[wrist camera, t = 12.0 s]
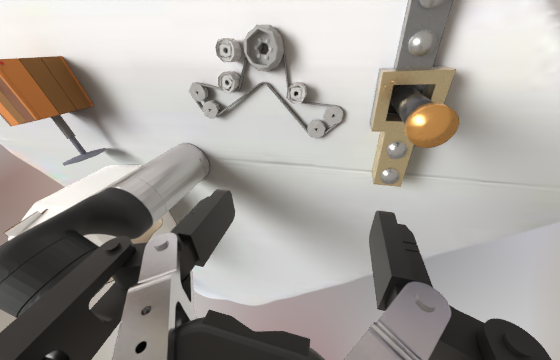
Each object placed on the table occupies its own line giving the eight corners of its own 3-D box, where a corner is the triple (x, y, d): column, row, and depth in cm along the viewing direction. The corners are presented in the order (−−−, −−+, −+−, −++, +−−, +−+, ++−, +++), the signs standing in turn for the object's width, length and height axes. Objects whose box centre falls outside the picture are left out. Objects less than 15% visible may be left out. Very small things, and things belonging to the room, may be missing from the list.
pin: (384, 111, 31) (402, 146, 21) (390, 82, 29) (413, 105, 18) (414, 111, 30) (448, 148, 20) (423, 81, 28) (466, 105, 17)
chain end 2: (361, 170, 37) (362, 184, 34) (379, 68, 28) (383, 72, 25) (407, 174, 35) (413, 189, 32) (443, 66, 26) (457, 69, 23)
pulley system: (188, 17, 33) (198, 112, 41) (167, 11, 29) (183, 118, 37) (363, 37, 29) (336, 138, 37) (367, 34, 25) (336, 148, 33)
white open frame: (108, 164, 58) (-43, 240, 36) (142, 163, 54) (-5, 250, 32) (146, 221, 69) (50, 306, 47) (177, 225, 65) (87, 320, 43)
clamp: (94, 148, 56) (28, 175, 45) (35, 66, 46) (-69, 75, 34) (120, 145, 52) (56, 174, 41) (62, 55, 42) (-44, 61, 31)
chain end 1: (369, 122, 33) (371, 128, 30) (395, -21, 23) (400, -27, 21) (424, 123, 31) (430, 130, 28) (475, -32, 21) (490, -41, 19)
